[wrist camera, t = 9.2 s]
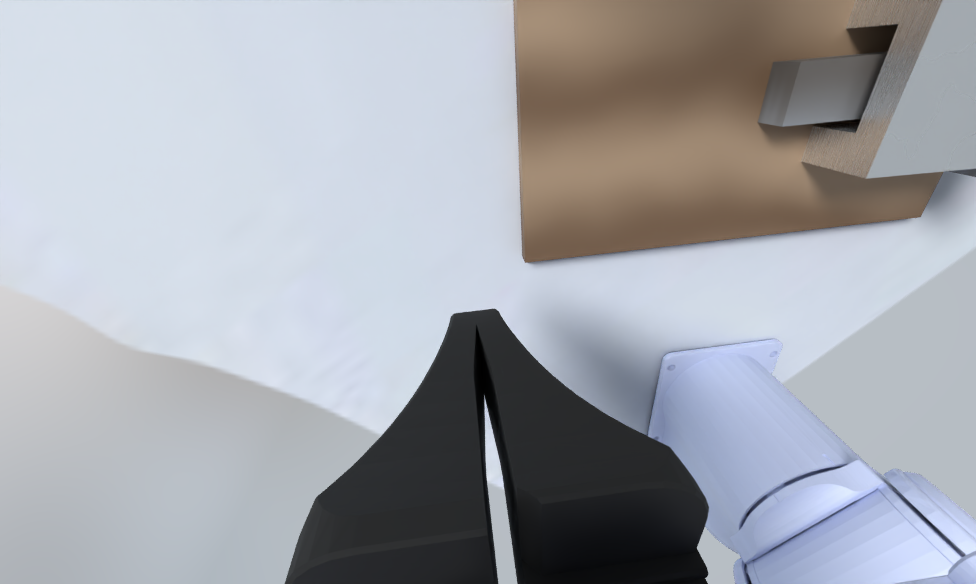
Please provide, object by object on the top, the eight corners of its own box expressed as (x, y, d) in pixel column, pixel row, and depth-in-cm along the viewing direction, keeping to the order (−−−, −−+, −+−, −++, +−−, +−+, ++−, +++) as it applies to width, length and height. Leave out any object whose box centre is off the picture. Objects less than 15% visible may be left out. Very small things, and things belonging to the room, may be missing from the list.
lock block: (914, 151, 19) (998, 166, 16) (800, 161, 19) (866, 178, 16) (1000, -28, 16) (1126, -50, 13) (862, -20, 15) (959, -40, 13)
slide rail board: (905, 212, 22) (1012, 246, 18) (522, 256, 21) (542, 302, 17) (1076, -139, 15) (1318, -217, 11) (510, -100, 14) (538, -170, 10)
